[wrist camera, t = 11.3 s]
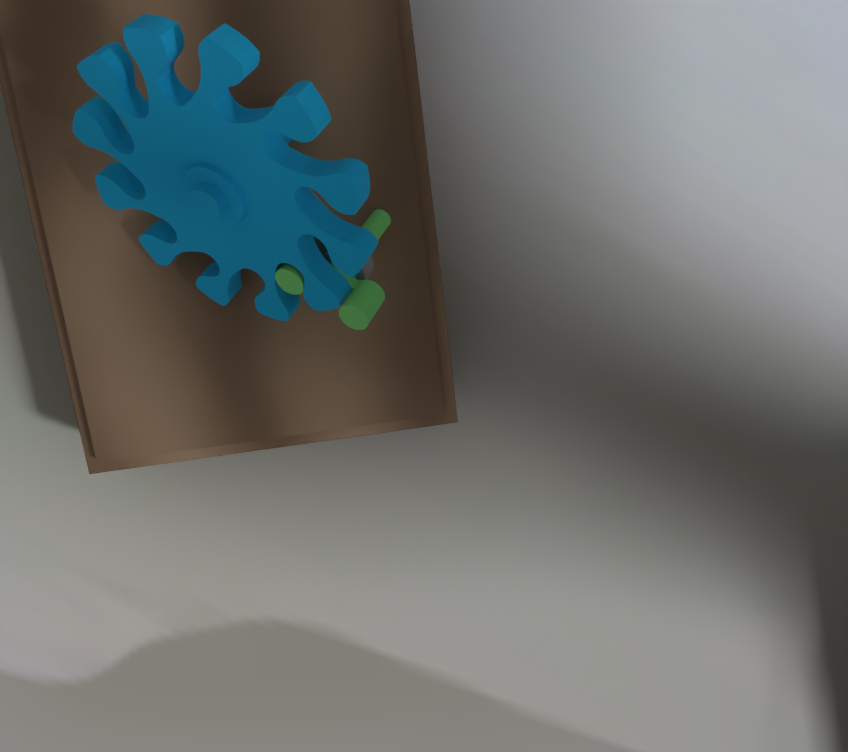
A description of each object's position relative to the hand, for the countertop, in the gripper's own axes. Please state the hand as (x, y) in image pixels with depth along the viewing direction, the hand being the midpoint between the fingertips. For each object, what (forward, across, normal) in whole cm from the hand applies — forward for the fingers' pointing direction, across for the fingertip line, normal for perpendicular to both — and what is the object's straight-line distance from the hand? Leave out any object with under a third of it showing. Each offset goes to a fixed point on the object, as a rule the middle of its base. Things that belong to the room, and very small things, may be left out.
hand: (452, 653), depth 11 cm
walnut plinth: (+23, +5, -7) cm, 24 cm away
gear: (+19, +4, -7) cm, 21 cm away
